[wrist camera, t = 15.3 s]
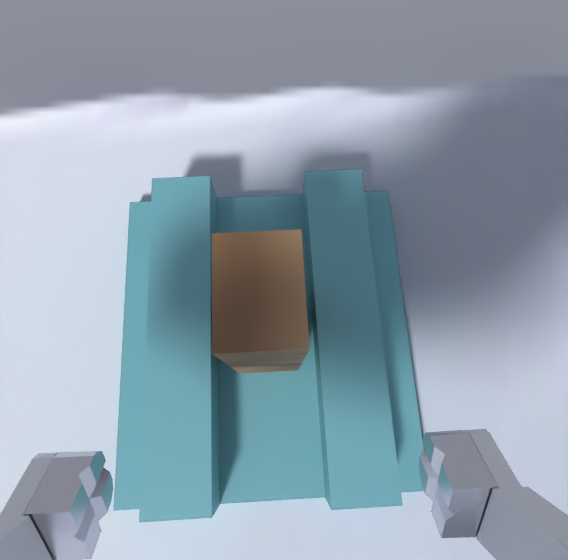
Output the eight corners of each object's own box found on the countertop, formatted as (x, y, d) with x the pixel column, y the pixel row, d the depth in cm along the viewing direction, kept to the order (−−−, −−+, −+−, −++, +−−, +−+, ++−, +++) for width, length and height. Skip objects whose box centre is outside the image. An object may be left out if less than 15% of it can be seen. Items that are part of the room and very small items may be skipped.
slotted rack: (383, 198, 26) (399, 167, 22) (422, 486, 21) (449, 502, 18) (135, 209, 25) (113, 180, 22) (121, 505, 21) (90, 525, 17)
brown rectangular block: (293, 295, 23) (301, 229, 14) (297, 370, 22) (309, 349, 13) (238, 297, 23) (212, 233, 14) (239, 373, 22) (212, 353, 13)
